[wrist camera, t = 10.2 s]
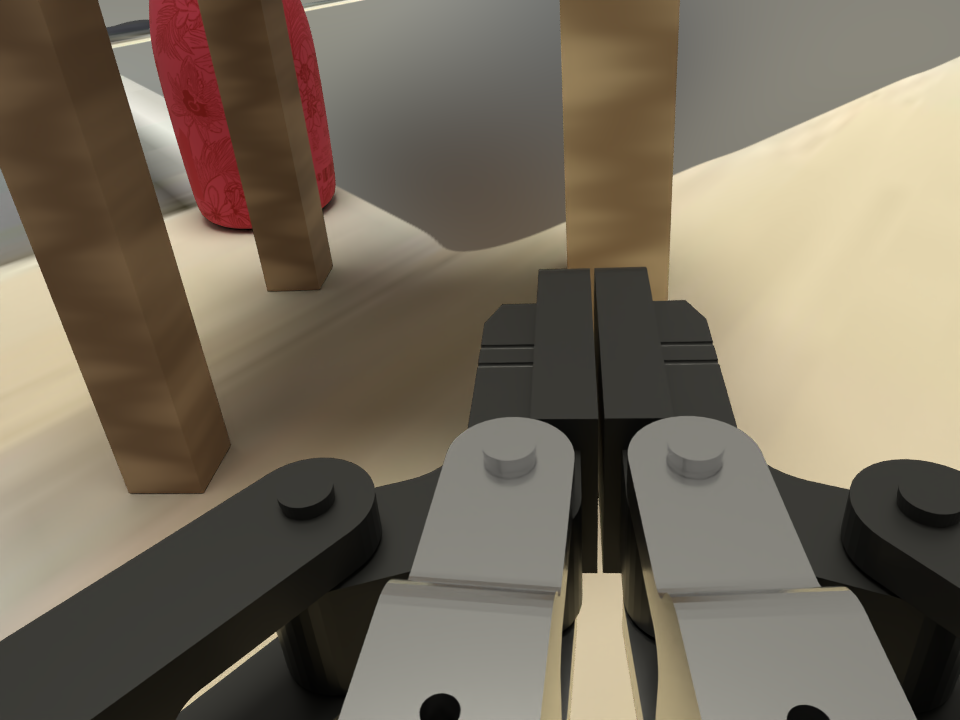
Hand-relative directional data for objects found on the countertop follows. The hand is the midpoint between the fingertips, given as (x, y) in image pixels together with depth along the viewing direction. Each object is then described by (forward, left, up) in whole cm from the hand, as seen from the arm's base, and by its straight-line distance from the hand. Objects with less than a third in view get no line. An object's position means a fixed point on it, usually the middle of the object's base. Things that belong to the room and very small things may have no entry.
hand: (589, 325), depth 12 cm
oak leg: (+1, +14, -14) cm, 20 cm away
